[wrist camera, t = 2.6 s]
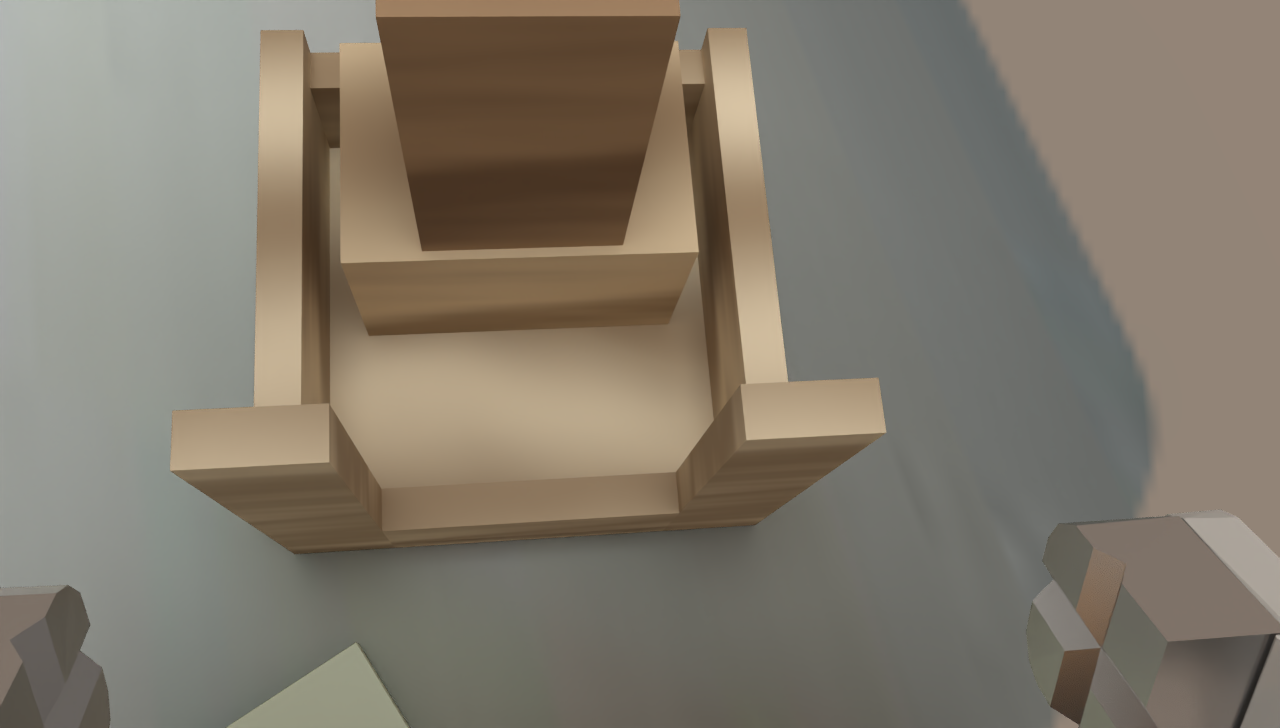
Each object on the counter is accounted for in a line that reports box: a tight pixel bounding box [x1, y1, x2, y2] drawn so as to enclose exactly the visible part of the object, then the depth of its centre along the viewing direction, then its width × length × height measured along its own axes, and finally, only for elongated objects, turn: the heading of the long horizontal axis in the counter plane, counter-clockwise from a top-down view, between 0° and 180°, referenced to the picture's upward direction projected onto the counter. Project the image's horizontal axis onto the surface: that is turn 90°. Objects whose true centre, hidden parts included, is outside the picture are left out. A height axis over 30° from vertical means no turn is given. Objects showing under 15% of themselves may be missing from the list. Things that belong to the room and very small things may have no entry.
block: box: [376, 0, 680, 251], centre depth 22 cm, size 4×4×9 cm
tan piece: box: [170, 28, 886, 554], centre depth 26 cm, size 12×12×11 cm
